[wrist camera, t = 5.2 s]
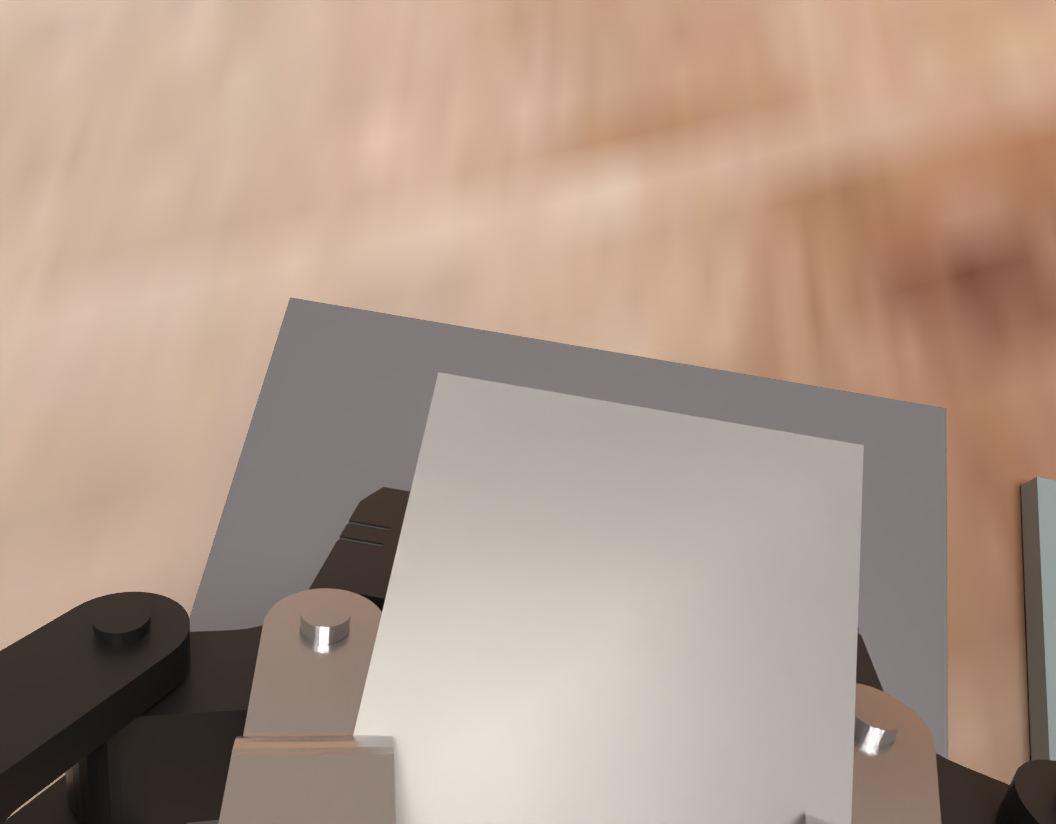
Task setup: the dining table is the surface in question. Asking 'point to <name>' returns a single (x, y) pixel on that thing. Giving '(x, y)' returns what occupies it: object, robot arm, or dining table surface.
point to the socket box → (430, 347)
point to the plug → (618, 617)
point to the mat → (1040, 611)
